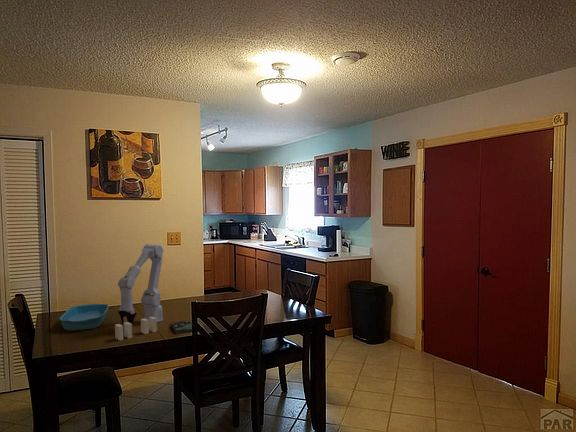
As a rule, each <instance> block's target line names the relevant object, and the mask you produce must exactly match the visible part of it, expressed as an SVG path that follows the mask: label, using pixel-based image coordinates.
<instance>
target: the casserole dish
mask: <svg viewBox="0 0 576 432" xmlns="http://www.w3.org/2000/svg"><path fill="white" fill-rule="evenodd" d="M109 307H110V306H109V304H107V303H86V304H80V305H75V306H72V307H70V308H68V309H67V310H66V311H65V312H64V313H63V314H62V315H61V316H59V321H60V323H61V327H63V329H64V330H66V331H80V330H83V331H84V330H91V329H95V328H98V327H99V326H100V325H101V324H102V323H103V321H104V320H105V318H106V316H107V313H108V312H109Z"/></svg>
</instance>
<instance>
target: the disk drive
mask: <svg viewBox="0 0 576 432" xmlns="http://www.w3.org/2000/svg"><path fill="white" fill-rule="evenodd" d="M192 325H193V324H192V322H191V321H190V320H184V321H178V322H170V328H171V330H172V331H173V333H174V334H175V335H181V334H186V333H193V332H192Z"/></svg>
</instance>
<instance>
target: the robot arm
mask: <svg viewBox="0 0 576 432" xmlns="http://www.w3.org/2000/svg"><path fill="white" fill-rule="evenodd" d="M163 252H164V248H163V247H162V246H161V245H160V244H145V245H143V248H142V249H141V254H140V255H139V257H138V259H137V261H136V262H135V264H134V265H131V266H130V267H129V269H128V270H127V272H126V273H125V275H124V276H123V277H121V278H120V279H119V280H118V283H117V285H118V286H117V287H119V291H120V305H119V308H118V311H117V313H118V314H119V317H120V320H121V325H122V324H123V325H124V317H126V318H127V322H129V323H131V324H132V327H133V326H134V321H135V318H136V316H137V313H138V312H135V311H136V310H135V309H134V306H133V304H134V303H133V288H134V287H135V283H136V281H137V280H136V279H137V277H138V276H139V275H140V273H141V268H142V267H143V266H144V264H145V263H146V262H147V260H149V259H150V261H151V267H150V271H149V272H150V273H149V277H148V284H147V288H146V289H145V290H144V291H143V295H142V296H141V300H140V303H141V304H142V306H143V307H144V318H145V319H147V320H149V317H155V318H157V323H159V322H162V321H164V317H163V316H164V315H163V311H164V310H163V307H162V305H161V304H160V303H161V299H162V298H161V292H160V290H158V286H159V281H160V275H161V268H162V265H163V264H162V263H163V254H164V253H163Z"/></svg>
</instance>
